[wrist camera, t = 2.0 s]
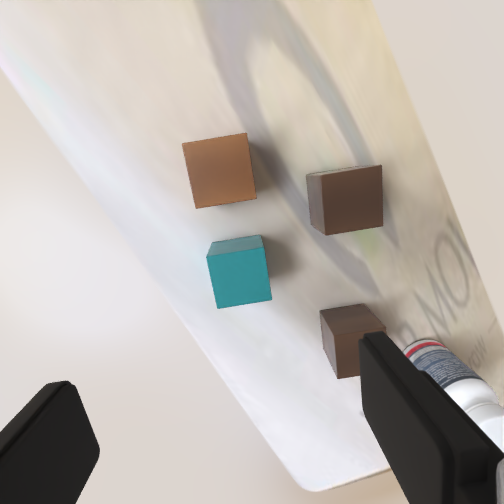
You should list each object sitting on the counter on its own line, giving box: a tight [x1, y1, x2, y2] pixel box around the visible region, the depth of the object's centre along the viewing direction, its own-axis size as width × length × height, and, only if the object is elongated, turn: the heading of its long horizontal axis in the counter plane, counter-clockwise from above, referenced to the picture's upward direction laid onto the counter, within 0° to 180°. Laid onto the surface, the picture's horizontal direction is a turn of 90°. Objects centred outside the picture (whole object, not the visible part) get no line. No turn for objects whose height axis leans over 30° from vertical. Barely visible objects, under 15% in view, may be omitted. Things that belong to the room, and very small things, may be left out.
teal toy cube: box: [206, 235, 272, 309], centre depth 23 cm, size 4×4×4 cm
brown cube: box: [320, 304, 386, 379], centre depth 26 cm, size 4×4×4 cm
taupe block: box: [306, 165, 383, 235], centre depth 22 cm, size 4×4×4 cm
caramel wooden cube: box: [182, 133, 257, 209], centre depth 21 cm, size 4×4×4 cm
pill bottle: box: [403, 340, 504, 453], centre depth 25 cm, size 5×5×9 cm
